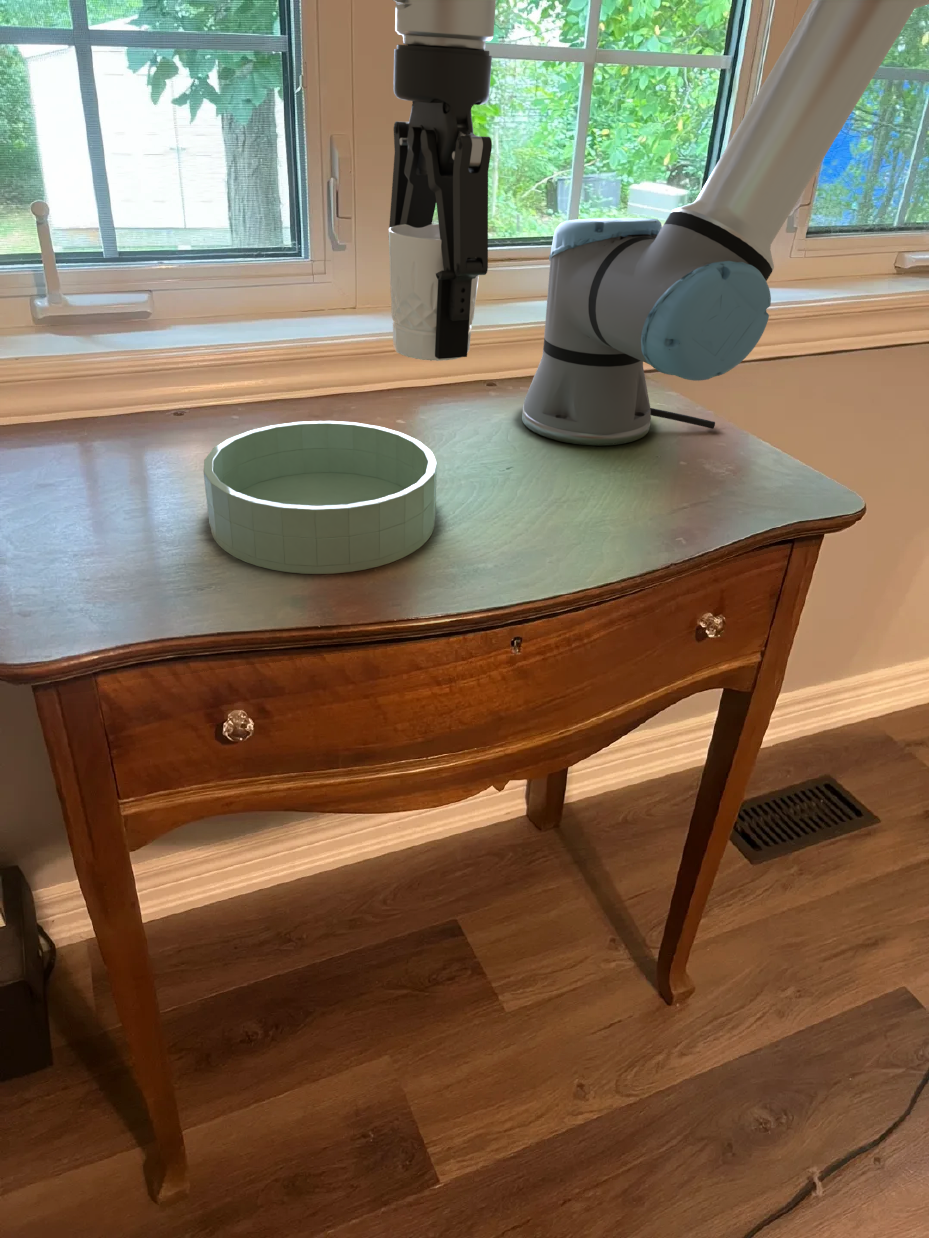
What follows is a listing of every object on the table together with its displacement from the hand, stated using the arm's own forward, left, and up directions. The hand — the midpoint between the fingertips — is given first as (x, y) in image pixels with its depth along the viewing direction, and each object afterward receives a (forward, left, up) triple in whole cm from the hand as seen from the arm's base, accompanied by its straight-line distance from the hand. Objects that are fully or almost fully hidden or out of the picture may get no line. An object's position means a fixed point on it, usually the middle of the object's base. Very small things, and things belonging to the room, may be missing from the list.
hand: (431, 343), depth 84 cm
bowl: (+10, +2, -16) cm, 19 cm away
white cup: (0, 0, -1) cm, 1 cm away
